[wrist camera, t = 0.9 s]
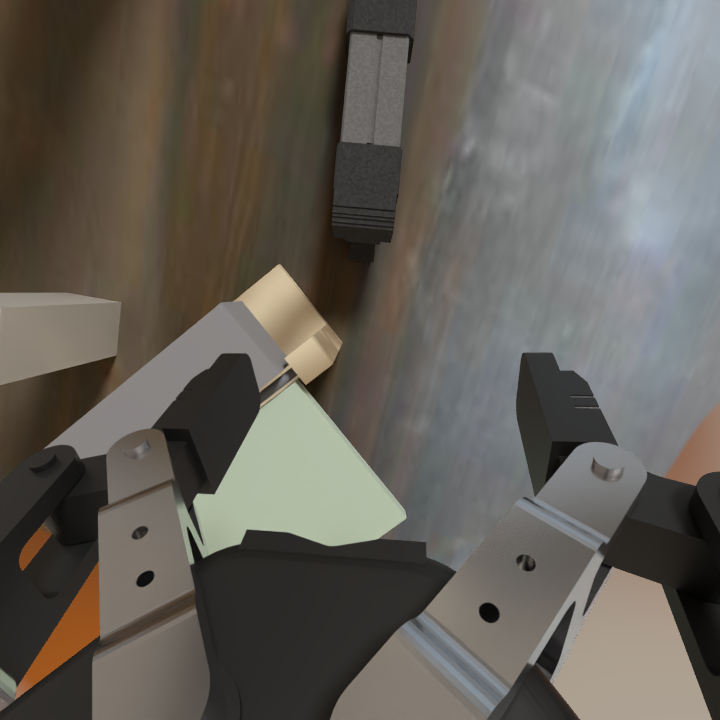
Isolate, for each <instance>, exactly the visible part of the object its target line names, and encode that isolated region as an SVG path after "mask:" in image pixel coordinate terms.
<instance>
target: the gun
mask: <svg viewBox="0 0 720 720" xmlns="http://www.w3.org/2000/svg"><path fill="white" fill-rule="evenodd" d="M416 8H417V0H349V7H348V18H347V29H346V48H347V57H348V65H347V76H346V86H345V97H344V108H343V118H342V129H341V140H340V141H339V144H337V152H336V163H335V174H334V184H333V191H334V199H333V211H332V230H333V235H334V238H344V239H345V241H348V242H350V253H349V260H359V261H370V262H373V260H374V250H375V244H380V242H389V243H391V238H392V234H393V229H394V219H395V210H396V203H397V198H398V193H399V181H400V170H401V158H402V149H401V147H400V139H401V128H402V116H403V105H404V93H405V82H406V71H407V64H408V63H410V60H411V53H412V47H413V41H414V31H415V19H416Z"/></svg>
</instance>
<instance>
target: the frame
mask: <svg viewBox="0 0 720 720" xmlns="http://www.w3.org/2000/svg"><path fill="white" fill-rule="evenodd" d="M236 301H242V302H243V303H244V304H245V305H246V307H247V308H248V309H249V310H250V312H251V313H252V314H253V315H254V316H255V318H256V319H257V320H258V321H259V323H260V324H261V325H262V326H263V328H264V329H265V330H266V331H267V332H268V334H269V335H270V336H271V337H272V339H273V340H274V341H275V342H276V344H277V345H278V346H279V347H280V348H281V350H282V351H283V352H284V353H285V355H286V356H287V357H285V358H284V359H285V360H286V361H287V363H288V364H289V365H288V366H287V367H286V368H285V369H284V370H283V371H282V372H281V373H280V374H278V375H277V376H276V377H274V378H273V379H272V380H271V381H269V382H268V383H267V384H266V385H264V386H263V387H262V388H260V389H259V392H261V391H262V390H263V389H265V388H266V387H267V386H268V385H270V384H271V383H272V382H273V381H275V380H276V379H277V378H279V377H280V376H281V375H282V374H284V373H285V372H286V371H288V370H289V369H290V368H292V369H293V370H294V371H295V372H296V374H297V376H296V377H295V378H293V379H292V380H291V381H290V382H288V383H287V384H286V385H284V386H283V387H282V388H281V389H279V390H278V391H277V392H275V393H274V394H273V395H272V396H270V397H269V398H268V399H266V400H265V401H264V402H263V403H261V404H260V408H261V407H262V406H263V405H265V404H266V403H267V402H268V401H270V400H271V399H272V398H274V397H275V396H276V395H277V394H279V393H280V392H281V391H283V390H284V389H285V388H286V387H288V386H289V385H290V384H292V383H293V382H294V381H295V380H297V379H298V378H299V377H300V379H301V380H302V381H303V382H304V384H305V385H307V384H308V383H309V382H310V381H312V380H313V379H314V378H316V377H317V376H318V375H319V374H321V373H322V372H323V371H325V370H326V369H327V368H329V367H330V366H331V365H332V364H333V362H334V360H335V358H336V356H337V354H338V352H339V350H340V347H341V345H342V343H343V342H342V341H341V340H340V339H339V337H338V336H337V335H336V334H335V332H334V331H333V330H332V329H331V327H330V326H329V325H328V323H327V322H326V321H325V320H324V318H323V317H322V316H321V315H320V313H319V312H318V311H317V310H316V308H315V307H314V306H313V304H312V303H311V302H310V301H309V299H308V298H307V297H306V296H305V294H304V293H303V292H302V291H301V289H300V288H299V287H298V286H297V284H296V283H295V282H294V280H293V279H292V278H291V277H290V275H289V274H288V273H287V272H286V270H285V269H284V268H283V267H282V265H277V266H276V267H275V268H274V269H273V270H271V271H270V272H269V273H268V274H267V275H265V276H264V277H263V278H262V279H260V280H259V281H258V282H257V283H256V284H254V285H253V286H252V287H251V288H249V289H248V290H247V291H246V292H245V293H243V294H242V295H241V296H240V297H238V298H237V299H236V300H235V301H234V302H236Z"/></svg>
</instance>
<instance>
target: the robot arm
mask: <svg viewBox="0 0 720 720" xmlns="http://www.w3.org/2000/svg"><path fill="white" fill-rule="evenodd" d="M260 404H261V397H260V392H259V388H258V384H257V381H256V377H255V373H254V370H253V366H252V362H251V359H250V357H249V355H248V354H246V353H223V354H221V355H220V356H219V357H218V358H217V359H216V361H215V362H214V363H213V364H212V366H211V367H210V368H209V369H205V370H204V371H202V372H201V373H199V374H198V375H196V376H195V377H194V378H192V379H191V380H190V382H189V383H188V384H187V385H186V386H185V388H184V389H183V391H181V392H180V394H179V395H178V396H177V397H176V400H174V401H173V402H172V403H171V405H170V406H169V407H168V408H167V409H166V411H165V412H164V413H163V414H162V415H161V417H160V418H159V419H158V420H157V421H156V423H155V424H154V425H153V426H152V427H151V429H142V430H138V431H135V432H132V433H130V434H128V435H126V436H124V437H122V438H121V439H119V440H118V441H117V442H116V443H114V444H113V445H112V447H111V448H110V449H109V451H108V453H107V454H103V455H98V456H93V457H88V458H83V459H80V457H79V455H78V454H77V452H76V450H75V449H74V448H73V447H72V446H69V445H56V446H52V447H48V448H46V449H43V450H41V451H38V452H36V453H35V454H33V455H31V456H30V457H28V458H27V459H25V460H24V461H23V462H22V463H20V464H19V465H18V466H17V467H16V468H15V469H14V470H13V471H12V472H11V473H10V474H9V475H8V476H7V477H6V478H5V479H4V480H3V481H2V482H1V483H0V720H580V719H579V718H578V716H577V715H576V714H575V713H574V711H573V710H572V709H571V708H570V706H569V705H568V704H567V702H566V701H565V700H564V699H563V697H562V696H561V695H560V694H559V692H558V691H557V690H556V689H555V687H554V686H553V685H552V684H553V682H554V680H555V678H556V676H557V675H558V673H559V671H560V669H561V668H562V666H563V664H564V662H565V660H566V658H567V656H568V654H569V652H570V650H571V648H572V646H573V643H574V641H575V639H576V636H577V634H578V632H579V630H580V628H581V626H582V625H583V622H584V621H585V619H586V617H587V615H588V614H589V612H590V610H591V608H592V607H593V605H594V603H595V602H596V600H597V598H598V596H599V595H600V593H601V591H602V589H603V588H604V586H605V584H606V582H607V581H608V579H609V577H610V575H611V574H612V572H613V570H614V568H617V569H620V570H623V571H626V572H629V573H632V574H634V575H637V576H640V577H643V578H646V579H649V580H652V581H654V582H657V583H660V584H662V587H663V589H664V592H665V595H666V597H667V600H668V603H669V605H670V608H671V611H672V614H673V616H674V619H675V622H676V624H677V627H678V630H679V632H680V635H681V638H682V640H683V643H684V646H685V648H686V651H687V653H688V656H689V659H690V662H691V664H692V667H693V670H694V672H695V675H696V678H697V681H698V683H699V686H700V688H701V691H702V694H703V697H704V699H705V702H706V705H707V707H708V710H709V713H710V715H711V718H712V720H720V472H712V473H708V474H706V475H704V476H702V477H701V478H700V479H699V481H698V483H697V485H696V486H693V485H690V484H686V483H682V482H678V481H674V480H670V479H666V478H663V477H659V476H656V475H654V474H651V473H649V472H647V471H646V468H645V466H644V465H643V463H642V462H641V461H640V460H639V459H638V458H637V457H636V456H635V455H634V454H632V453H631V452H629V451H628V450H626V449H624V448H622V447H619V446H618V444H617V442H616V440H615V438H614V436H613V434H612V432H611V430H610V428H609V426H608V424H607V422H606V420H605V418H604V416H603V414H602V411H601V409H599V405H598V403H597V401H596V399H595V398H594V397H593V393H592V391H591V389H590V387H589V385H588V383H587V382H586V381H585V380H584V379H583V378H581V377H580V376H579V375H578V374H577V373H575V372H574V371H560V370H559V367H558V365H557V362H556V360H555V357H554V355H553V353H523V354H522V357H521V363H520V372H519V381H518V390H517V399H516V413H517V421H518V425H519V429H520V434H521V438H522V443H523V447H524V451H525V456H526V460H527V464H528V469H529V473H530V477H531V482H532V486H533V490H534V495H535V498H534V499H533V500H532V501H531V500H530V499H528V498H526V497H523V498H521V499H520V500H518V501H517V502H516V503H515V505H514V506H513V507H512V508H511V509H510V510H509V512H508V513H507V514H506V515H505V516H504V517H503V519H502V520H501V521H500V522H499V523H498V524H497V526H496V527H495V528H494V529H493V530H492V531H491V533H490V534H489V535H488V536H487V537H486V538H485V540H484V541H483V542H482V543H481V544H480V546H479V547H478V548H477V549H476V550H475V551H474V553H473V554H472V555H471V556H470V557H469V558H468V560H467V561H466V562H465V563H464V564H463V565H462V567H461V568H460V569H459V570H458V571H457V572H456V571H454V570H453V569H451V568H449V567H448V566H446V565H444V564H442V563H440V562H437V561H435V560H432V559H429V558H427V557H426V542H414V541H400V540H386V539H376V540H370V541H364V542H357V543H351V544H345V545H339V546H327V545H324V544H321V543H318V542H315V541H312V540H309V539H306V538H303V537H300V536H297V535H295V534H292V533H289V532H276V531H262V530H249V529H247V530H246V532H245V535H244V537H243V539H242V542H241V544H238V545H234V546H230V547H227V548H224V549H222V550H219V551H216V552H214V553H212V554H210V555H209V553H208V549H207V546H206V542H205V538H204V535H203V531H202V527H201V524H200V520H199V516H198V512H197V509H196V506H195V504H194V502H193V501H194V499H195V497H196V495H197V494H213V495H215V493H216V491H217V489H218V487H219V485H220V484H221V482H222V480H223V478H224V476H225V474H226V472H227V471H228V469H229V467H230V465H231V463H232V461H233V460H234V458H235V456H236V454H237V452H238V450H239V448H240V447H241V445H242V443H243V441H244V439H245V437H246V436H247V434H248V432H249V430H250V428H251V426H252V424H253V423H254V421H255V419H256V417H257V415H258V413H259V410H260ZM43 522H44V523H45V524H46V525H47V527H48V528H49V530H50V531H51V532H52V535H51V536H50V538H49V539H48V540H47V542H46V543H45V544H44V545H43V547H42V548H41V549H40V550H39V552H38V553H37V554H36V555H35V557H34V558H33V559H32V561H31V562H30V563H29V564H28V566H27V567H26V568H25V569H24V571H22V570H21V568H20V566H19V556H20V553H21V550H22V549H23V547H24V545H25V544H26V543H27V541H28V540H29V539H30V538H31V537H32V536H33V534H34V533H35V532H36V531H37V530H38V528H39V527H40V526H41V525H42V524H43ZM98 561H99V594H100V595H99V596H100V636H99V637H97V638H96V639H95V640H93V641H92V642H91V643H89V644H88V645H87V646H86V647H84V648H83V649H82V650H80V651H79V652H78V653H76V654H75V655H74V656H72V657H71V658H70V659H68V660H67V661H66V662H64V663H63V664H62V665H61V666H59V667H58V668H57V669H55V670H54V671H53V672H51V673H50V674H49V675H47V676H46V677H45V678H43V679H42V680H41V681H40V682H38V683H37V684H36V685H34V686H33V687H32V688H30V689H29V690H28V691H26V692H25V693H24V694H22V695H21V696H20V697H19V698H17V699H16V700H15V696H16V688H17V686H18V685H19V683H20V682H21V680H22V678H23V677H24V675H25V674H26V672H27V671H28V669H29V667H30V666H31V664H32V663H33V661H34V660H35V658H36V657H37V655H38V654H39V652H40V651H41V649H42V647H43V646H44V644H45V643H46V641H47V640H48V638H49V637H50V635H51V634H52V632H53V630H54V629H55V627H56V626H57V624H58V623H59V621H60V620H61V618H62V617H63V615H64V613H65V612H66V610H67V609H68V607H69V606H70V604H71V603H72V601H73V600H74V598H75V596H76V595H77V593H78V592H79V590H80V589H81V587H82V586H83V584H84V583H85V581H86V579H87V578H88V576H89V575H90V573H91V572H92V570H93V568H94V567H95V565H96V564H97V562H98ZM14 700H15V701H14Z"/></svg>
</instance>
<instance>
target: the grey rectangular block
mask: <svg viewBox="0 0 720 720" xmlns="http://www.w3.org/2000/svg"><path fill="white" fill-rule="evenodd" d="M120 313H121V302H117V301H111V300H106V299H100V298H94V297H89V296H83V295H77V294H72V293H0V385H3V384H7V383H11V382H15V381H18V380H22V379H26V378H30V377H34V376H38V375H42V374H46V373H50V372H54V371H58V370H62V369H66V368H70V367H73V366H77V365H81V364H85V363H89V362H93V361H97V360H101V359H105V358H109V357H113V356H117V346H118V335H119V324H120Z"/></svg>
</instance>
